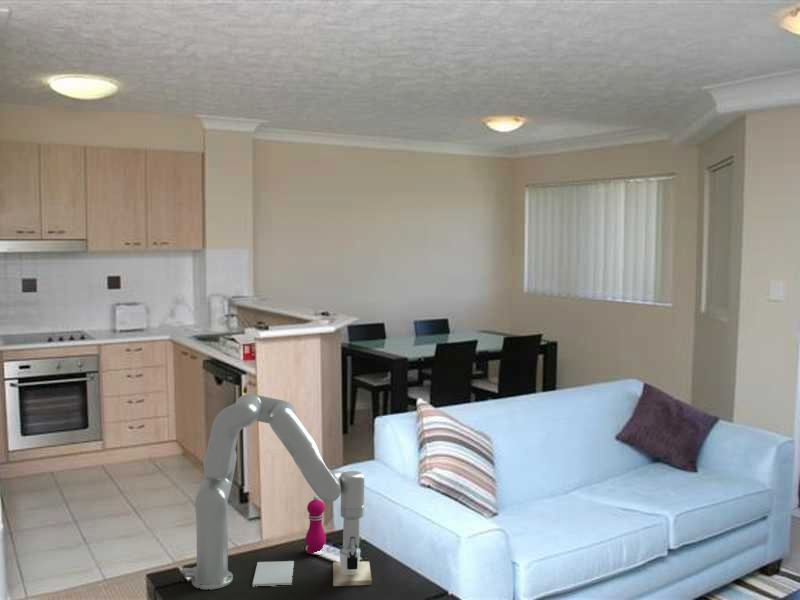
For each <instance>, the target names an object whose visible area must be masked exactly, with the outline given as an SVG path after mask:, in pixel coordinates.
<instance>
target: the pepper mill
mask: <svg viewBox="0 0 800 600" xmlns="http://www.w3.org/2000/svg"><path fill="white" fill-rule="evenodd" d="M307 512H308V519H309V527H308V530H307V532H306V534H305V535H306V536H305V539H304V540H305V545H306V553H307V552H308V553H314V552H317V551H320V550H321V549H322V548H323V546H325V545H326V543H327V536H326V533H325V531H324V528H323V522H322V520H323V519H324V514H323V513H324V512H325V503H324V501H322V500H321V499H320V498H319V497H318V496H317V495H314V496H313V499H312V500H310V501H309V502H308V503H307Z"/></svg>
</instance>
